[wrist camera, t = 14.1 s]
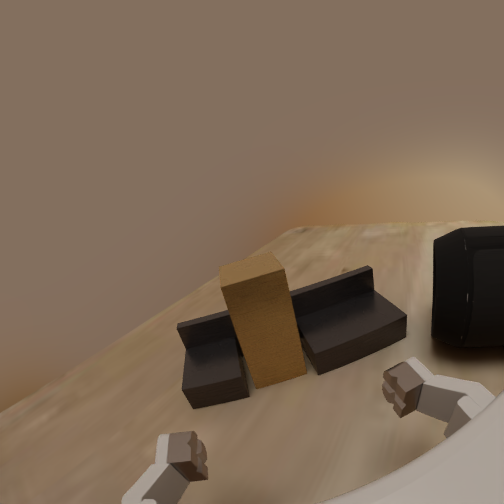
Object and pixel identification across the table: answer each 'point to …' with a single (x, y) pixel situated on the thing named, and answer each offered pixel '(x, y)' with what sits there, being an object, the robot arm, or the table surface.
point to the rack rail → (310, 332)
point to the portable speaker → (469, 287)
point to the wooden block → (263, 318)
